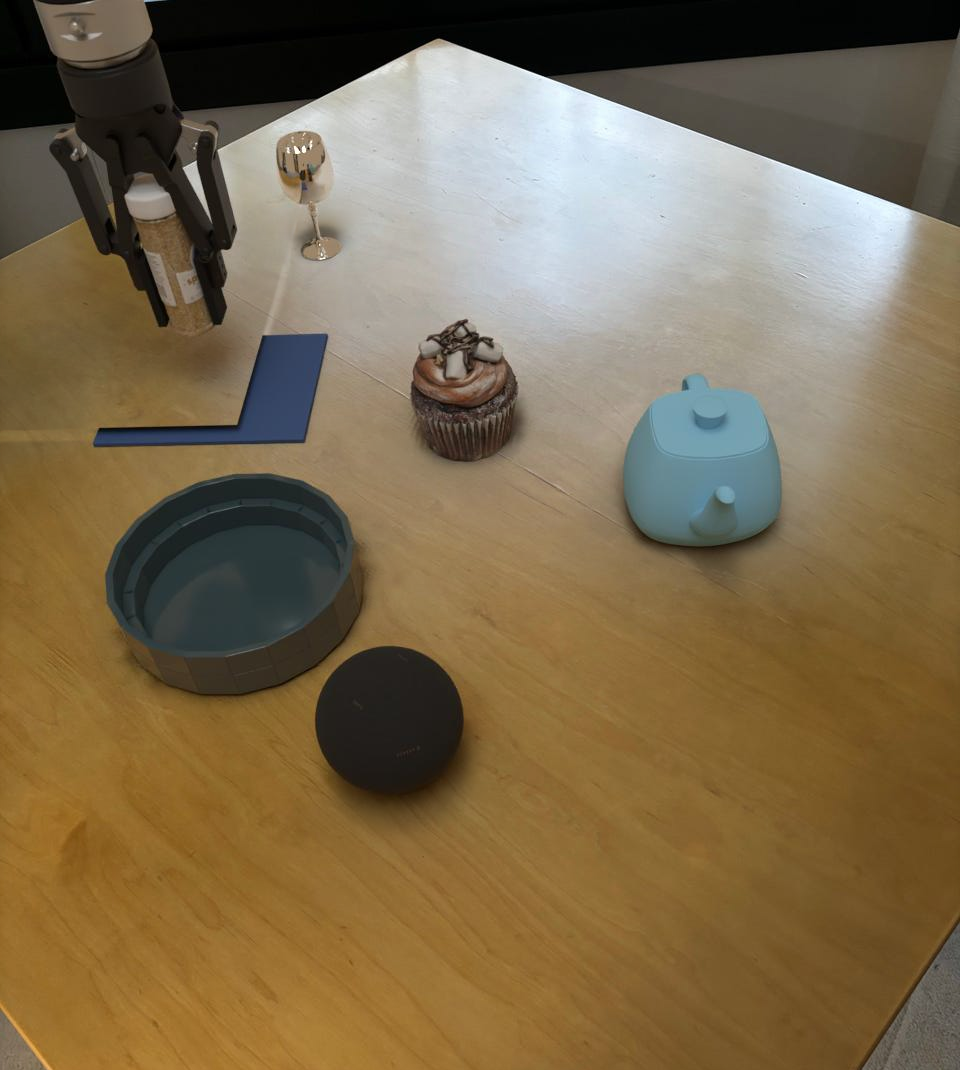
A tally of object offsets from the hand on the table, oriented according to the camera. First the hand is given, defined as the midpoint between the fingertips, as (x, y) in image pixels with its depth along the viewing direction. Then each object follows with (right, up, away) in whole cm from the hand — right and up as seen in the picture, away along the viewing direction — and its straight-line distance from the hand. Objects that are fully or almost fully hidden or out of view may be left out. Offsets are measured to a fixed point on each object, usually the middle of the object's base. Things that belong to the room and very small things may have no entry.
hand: (193, 316), depth 98 cm
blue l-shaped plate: (0, -5, +7) cm, 8 cm away
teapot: (+44, -19, -8) cm, 49 cm away
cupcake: (+25, -11, 0) cm, 27 cm away
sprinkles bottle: (0, -1, +1) cm, 1 cm away
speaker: (+20, -38, -21) cm, 48 cm away
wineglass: (+9, +14, +21) cm, 26 cm away
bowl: (+7, -26, -11) cm, 29 cm away
